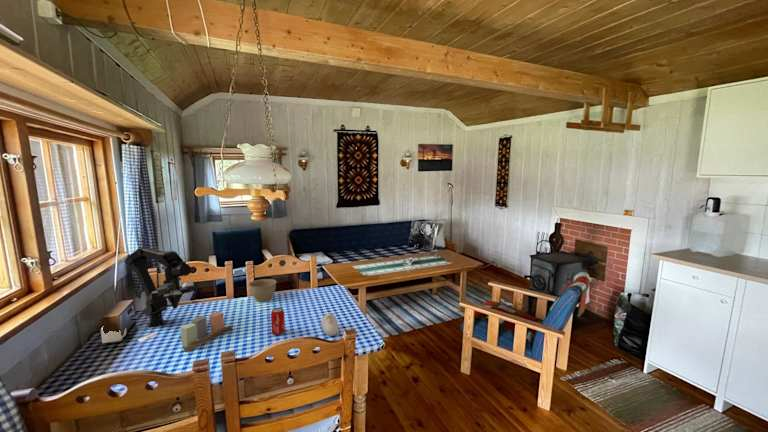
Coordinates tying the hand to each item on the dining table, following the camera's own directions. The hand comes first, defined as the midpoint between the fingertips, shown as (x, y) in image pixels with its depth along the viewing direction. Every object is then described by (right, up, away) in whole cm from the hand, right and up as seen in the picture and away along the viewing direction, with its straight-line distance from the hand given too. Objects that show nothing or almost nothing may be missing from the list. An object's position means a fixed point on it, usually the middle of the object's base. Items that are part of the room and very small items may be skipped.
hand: (175, 308), depth 156 cm
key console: (+17, -13, -6) cm, 22 cm away
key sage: (+15, -13, -13) cm, 24 cm away
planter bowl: (+27, -7, +44) cm, 52 cm away
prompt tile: (-6, -13, -8) cm, 16 cm away
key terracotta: (+21, -11, 0) cm, 24 cm away
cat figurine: (+76, -13, +3) cm, 77 cm away
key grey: (+16, -12, -6) cm, 20 cm away
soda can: (+51, -13, +1) cm, 52 cm away
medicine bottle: (-25, -13, -6) cm, 28 cm away
